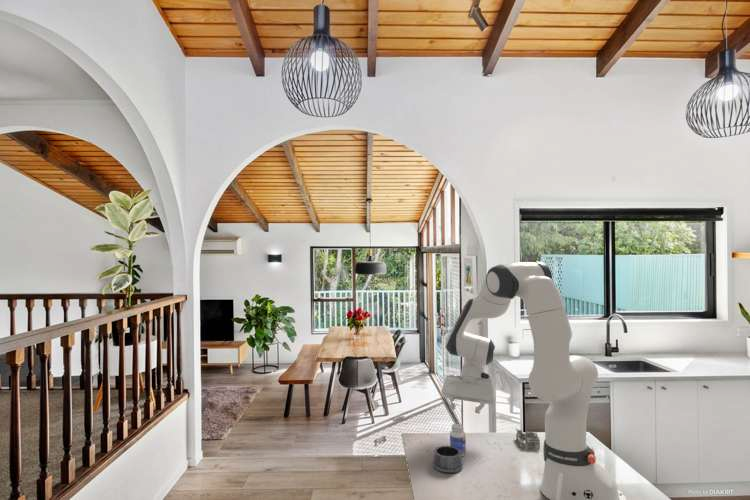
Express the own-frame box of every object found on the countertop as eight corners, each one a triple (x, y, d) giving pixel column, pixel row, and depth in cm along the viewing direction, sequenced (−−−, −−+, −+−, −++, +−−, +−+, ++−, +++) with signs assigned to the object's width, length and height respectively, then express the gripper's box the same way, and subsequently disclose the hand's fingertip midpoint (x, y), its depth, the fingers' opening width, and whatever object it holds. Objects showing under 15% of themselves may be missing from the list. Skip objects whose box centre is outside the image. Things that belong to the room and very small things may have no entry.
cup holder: (466, 463, 146) (466, 448, 146) (457, 476, 138) (457, 460, 138) (439, 457, 151) (438, 443, 151) (428, 469, 142) (428, 454, 143)
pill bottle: (465, 457, 151) (465, 429, 151) (449, 456, 152) (449, 428, 152) (465, 450, 156) (465, 423, 156) (450, 449, 157) (450, 422, 158)
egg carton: (515, 438, 167) (515, 427, 168) (535, 439, 166) (535, 428, 166) (519, 450, 157) (519, 438, 157) (541, 451, 156) (541, 439, 156)
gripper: (444, 370, 174) (435, 402, 165) (496, 376, 164) (490, 410, 155) (448, 378, 177) (440, 410, 169) (499, 385, 168) (493, 419, 159)
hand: (464, 410), depth 162 cm, fingers open, 8 cm apart
